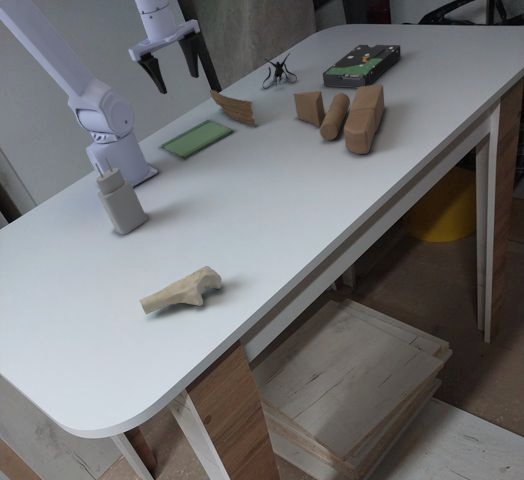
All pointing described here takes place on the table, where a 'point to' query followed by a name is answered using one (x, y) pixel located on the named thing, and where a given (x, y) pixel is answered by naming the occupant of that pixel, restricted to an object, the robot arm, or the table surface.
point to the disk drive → (361, 65)
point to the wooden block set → (358, 122)
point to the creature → (278, 71)
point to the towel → (196, 139)
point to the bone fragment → (183, 290)
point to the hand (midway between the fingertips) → (179, 84)
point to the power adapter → (119, 200)
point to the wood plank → (235, 108)
